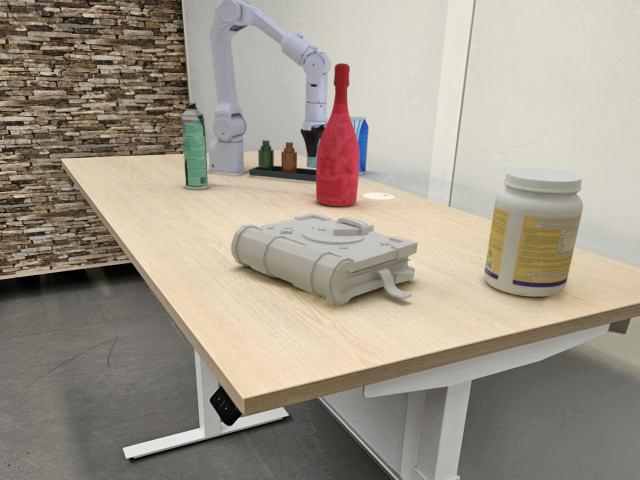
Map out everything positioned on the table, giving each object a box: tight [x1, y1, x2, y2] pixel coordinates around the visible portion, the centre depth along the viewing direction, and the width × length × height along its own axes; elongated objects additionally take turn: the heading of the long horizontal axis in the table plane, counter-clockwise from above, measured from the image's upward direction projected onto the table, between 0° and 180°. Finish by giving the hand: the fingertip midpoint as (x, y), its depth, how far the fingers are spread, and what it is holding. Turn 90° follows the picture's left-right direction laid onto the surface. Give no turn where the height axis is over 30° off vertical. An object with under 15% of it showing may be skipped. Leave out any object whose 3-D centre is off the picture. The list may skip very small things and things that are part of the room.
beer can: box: [349, 115, 369, 176], centre depth 166 cm, size 8×8×16 cm
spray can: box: [181, 102, 209, 191], centre depth 141 cm, size 6×6×20 cm
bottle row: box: [257, 139, 298, 174], centre depth 161 cm, size 11×4×9 cm, turn 72°
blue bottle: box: [306, 138, 321, 169], centre depth 157 cm, size 4×4×9 cm
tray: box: [248, 165, 316, 183], centre depth 162 cm, size 21×9×2 cm, turn 72°
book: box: [230, 212, 418, 307], centre depth 87 cm, size 19×28×8 cm
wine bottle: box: [315, 62, 360, 207], centre depth 129 cm, size 10×10×30 cm
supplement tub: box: [483, 167, 584, 298], centre depth 86 cm, size 12×12×17 cm
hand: (314, 155), depth 157 cm, fingers closed on blue bottle, 4 cm apart
